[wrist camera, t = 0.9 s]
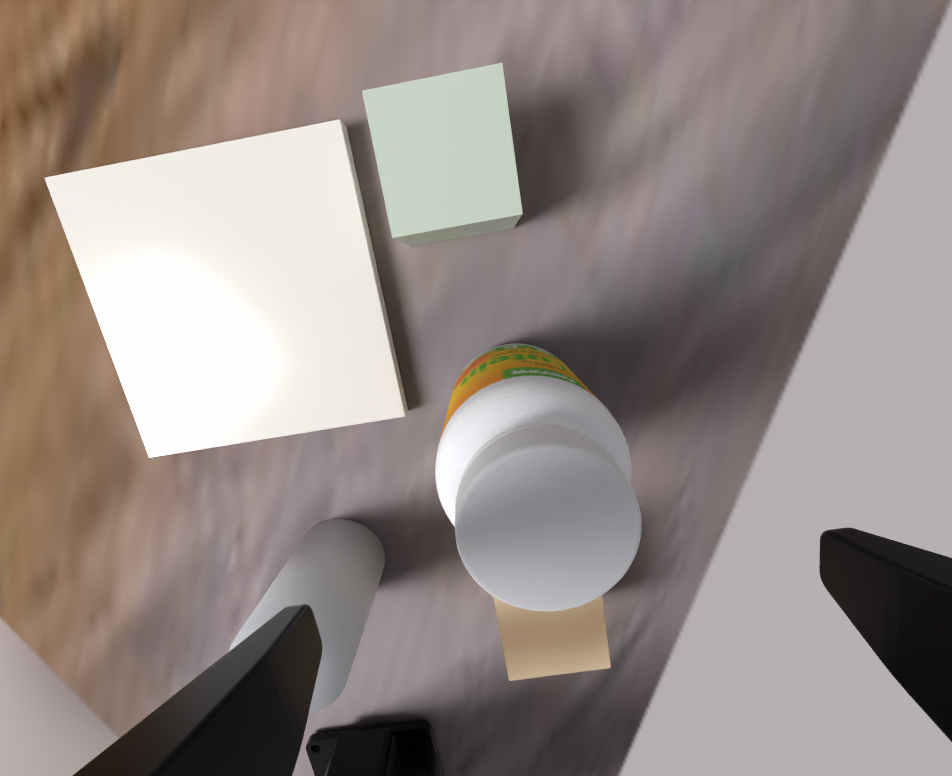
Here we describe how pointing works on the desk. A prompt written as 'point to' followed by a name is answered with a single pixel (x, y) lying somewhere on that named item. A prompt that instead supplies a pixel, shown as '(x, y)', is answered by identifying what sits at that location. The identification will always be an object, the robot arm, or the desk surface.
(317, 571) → the grey capsule
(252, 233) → the ceramic tile
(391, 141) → the sage block
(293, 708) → the robot arm
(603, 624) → the beech block
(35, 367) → the desk surface
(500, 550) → the supplement bottle
